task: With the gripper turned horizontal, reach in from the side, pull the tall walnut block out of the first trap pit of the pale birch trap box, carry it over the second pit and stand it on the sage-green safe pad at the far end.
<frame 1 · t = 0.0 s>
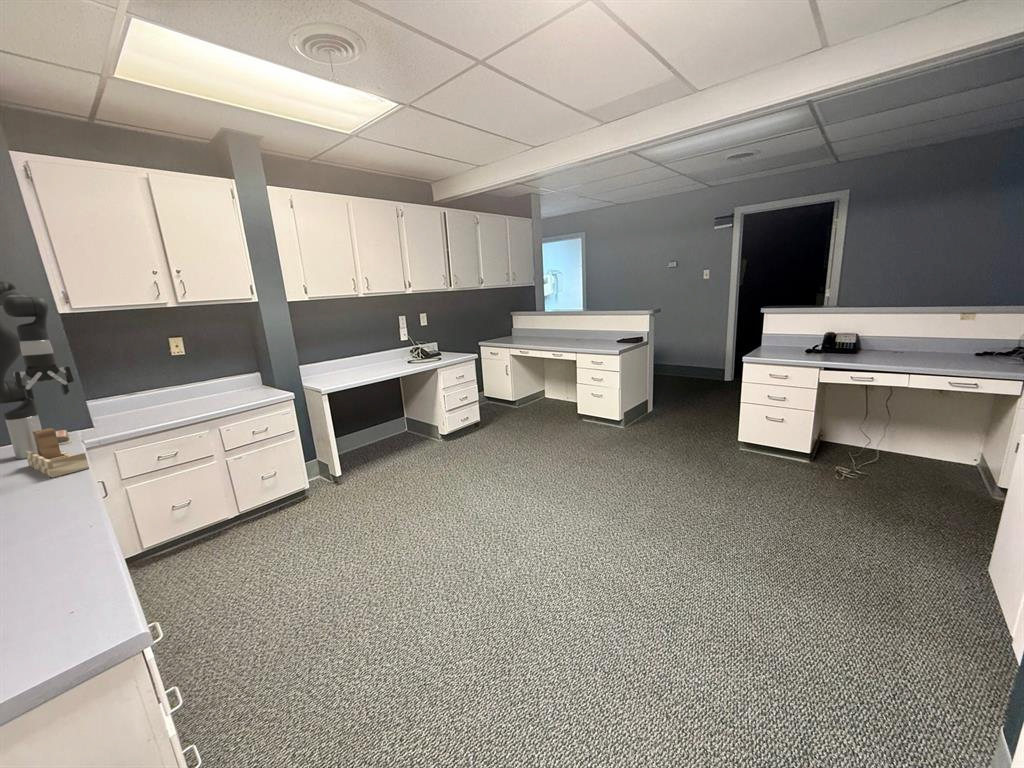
hand: (48, 396, 153), 29 cm above the counter, tool pointing down, fingers open, 8 cm apart
walnut block: (52, 464, 167), resting on trap box
trap box: (58, 467, 163), on the counter
packaged product: (58, 443, 200), on the counter
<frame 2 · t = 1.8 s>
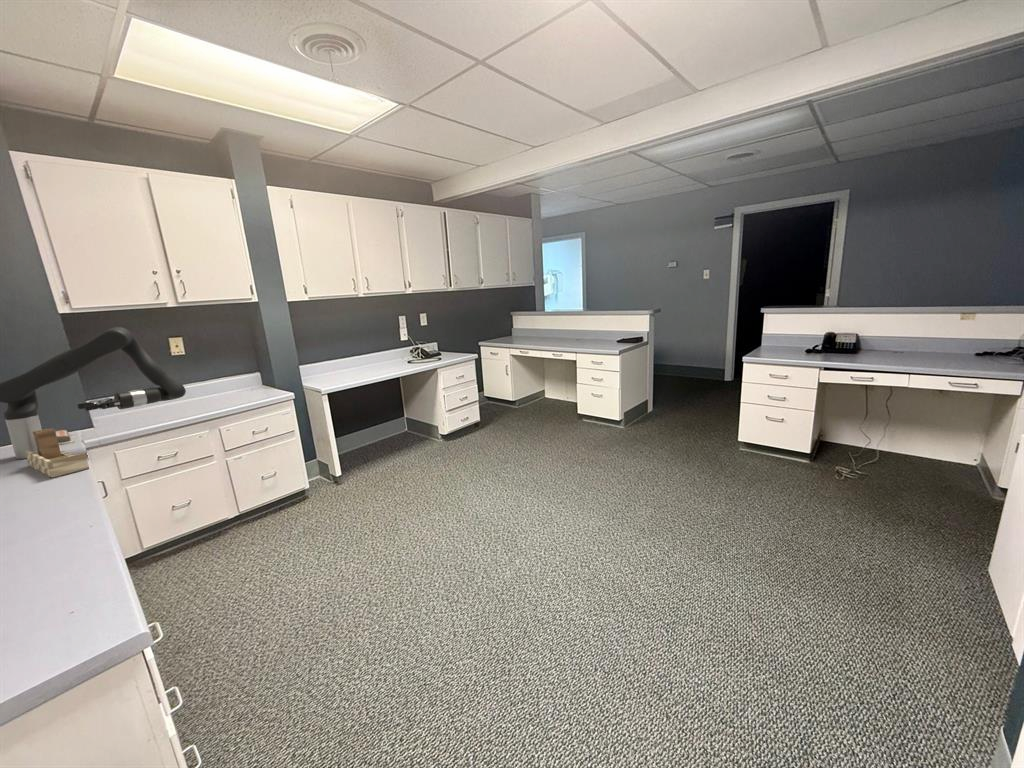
hand: (81, 407, 173), 21 cm above the counter, tool horizontal, fingers open, 8 cm apart
nothing on the counter moved.
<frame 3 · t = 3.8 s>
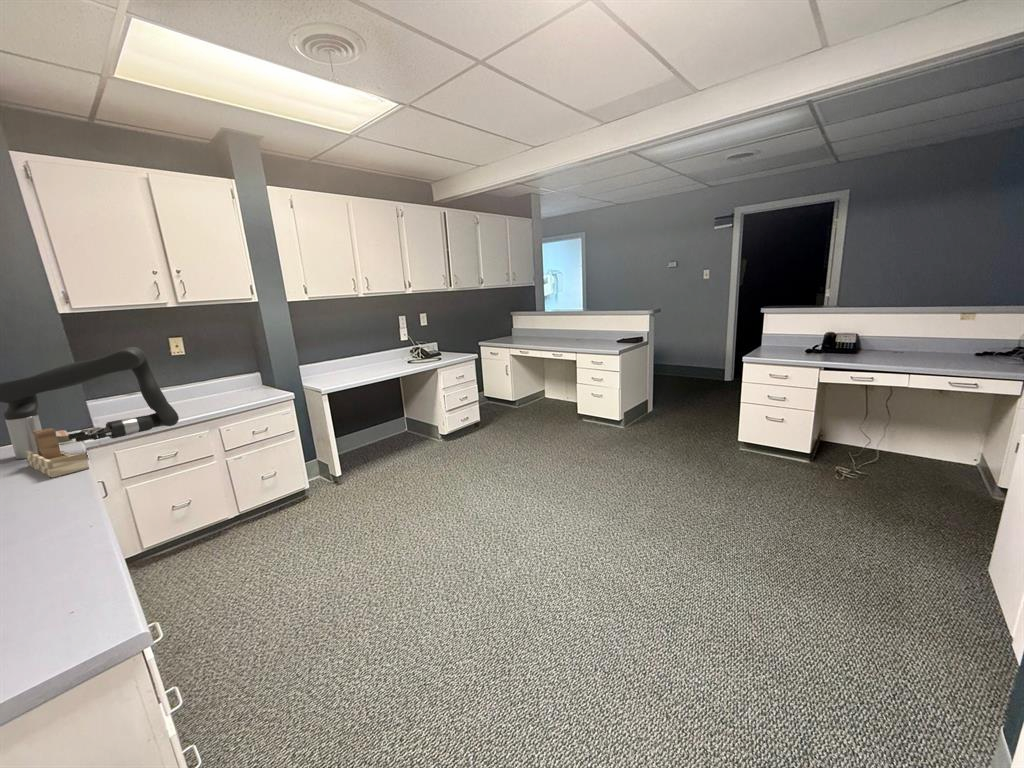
hand: (72, 438, 172), 9 cm above the counter, tool horizontal, fingers open, 8 cm apart
nothing on the counter moved.
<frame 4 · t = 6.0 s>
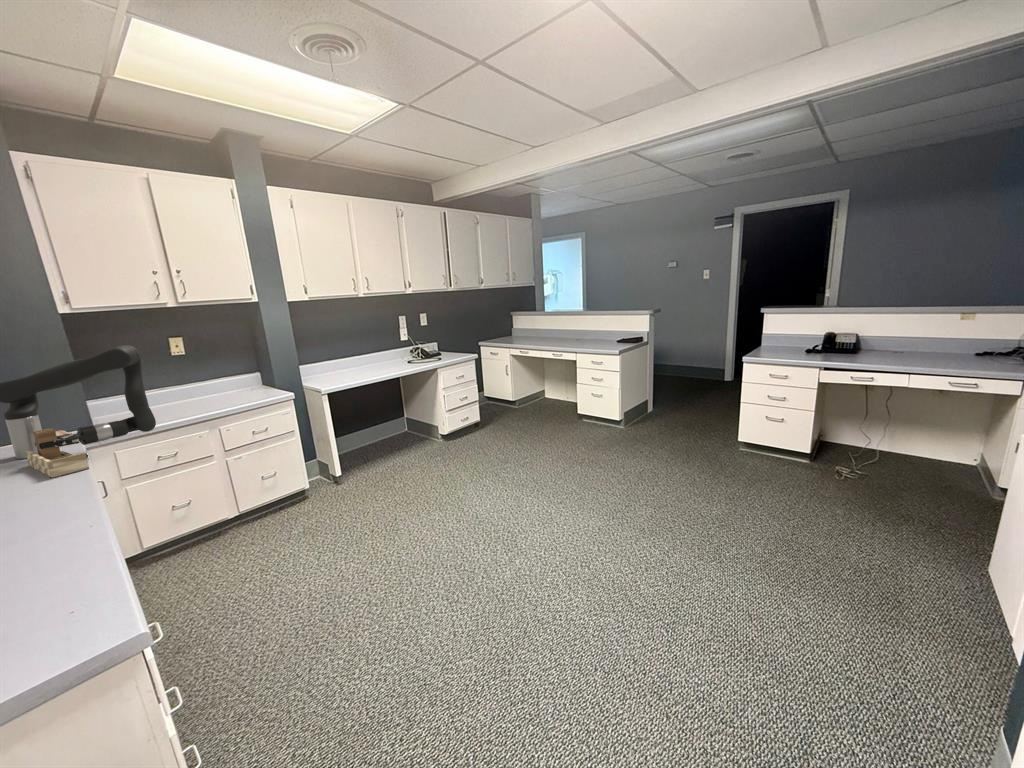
hand: (37, 445, 163), 9 cm above the counter, tool horizontal, fingers closed on walnut block, 5 cm apart
walnut block: (52, 464, 167), resting on trap box, touching gripper
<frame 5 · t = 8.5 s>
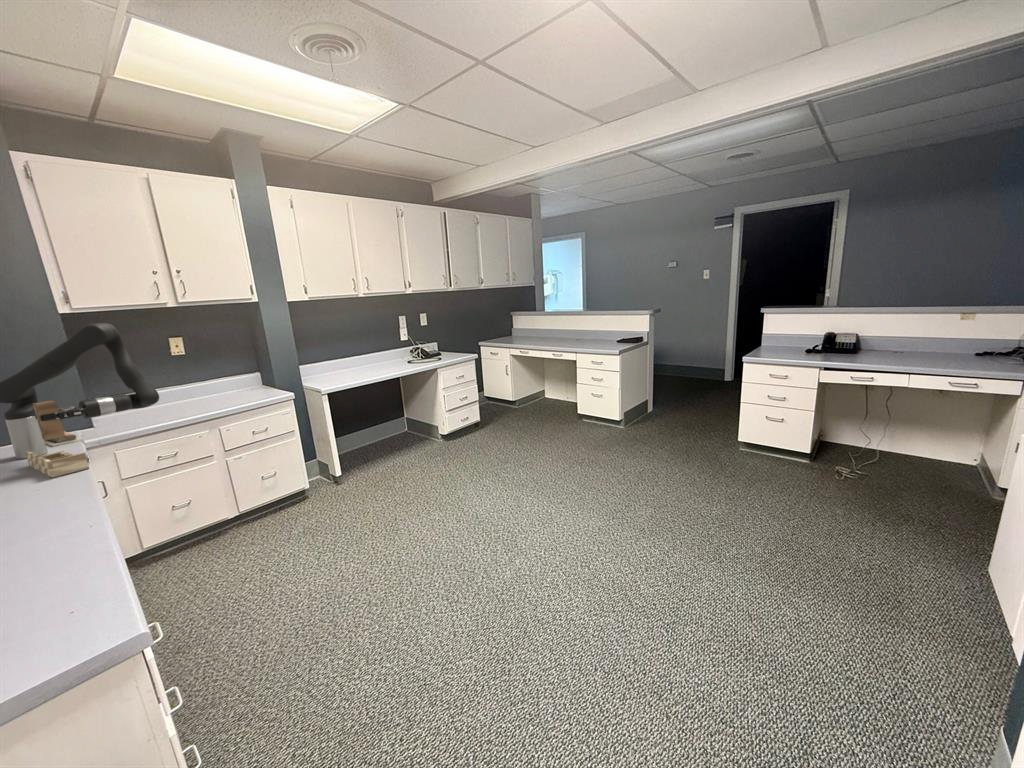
hand: (38, 417, 157), 21 cm above the counter, tool horizontal, fingers closed on walnut block, 5 cm apart
walnut block: (53, 437, 161), point 12 cm above the counter, touching gripper
when the fingers open (13 cm above the counter, at t = 10.9 s): walnut block stays where it is, resting on trap box.
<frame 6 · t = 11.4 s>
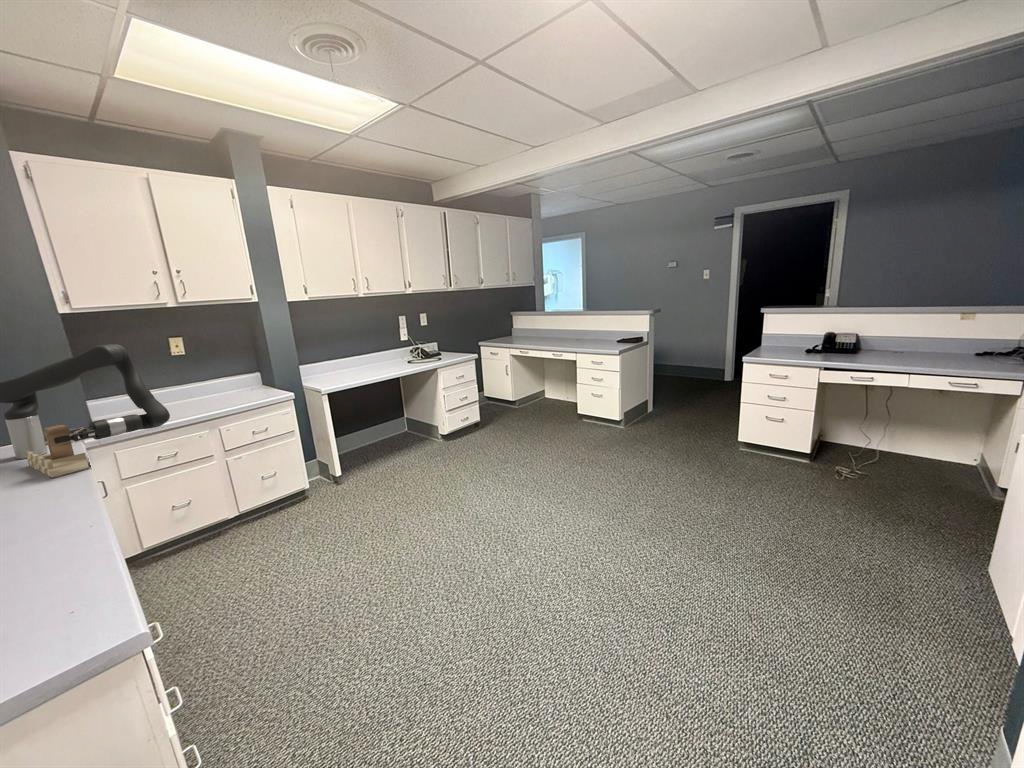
hand: (50, 439, 155), 13 cm above the counter, tool horizontal, fingers open, 8 cm apart
walnut block: (64, 462, 158), point 4 cm above the counter, touching trap box
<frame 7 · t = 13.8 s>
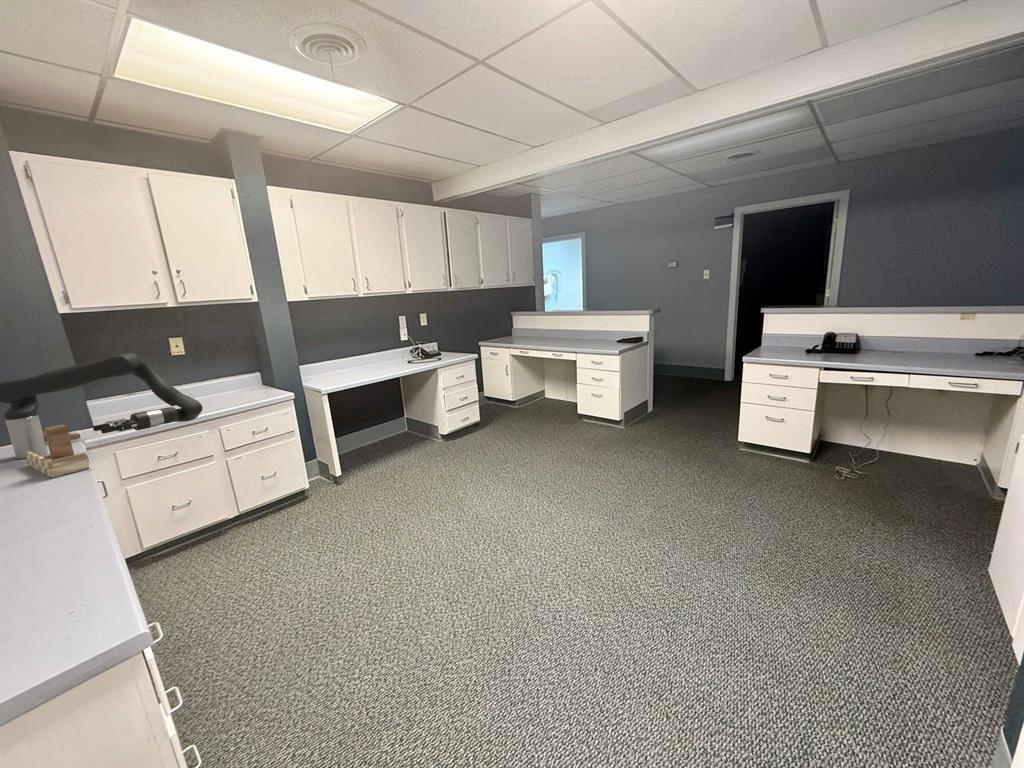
hand: (97, 429, 166), 13 cm above the counter, tool horizontal, fingers open, 8 cm apart
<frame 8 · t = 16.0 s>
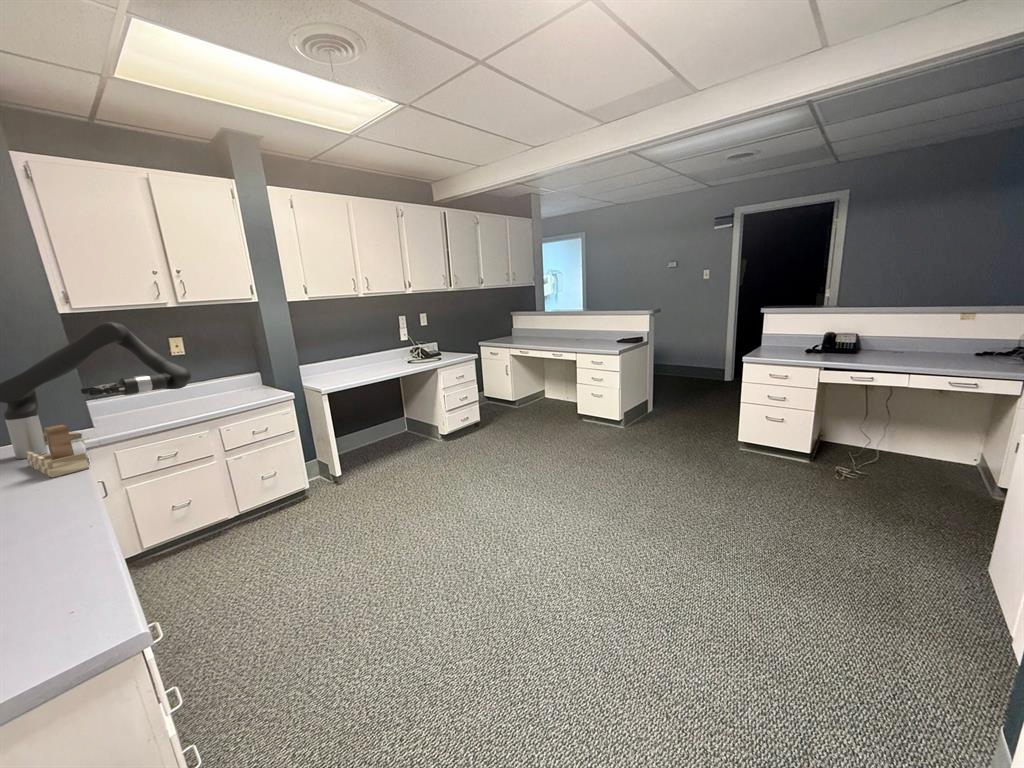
hand: (85, 392, 168), 28 cm above the counter, tool horizontal, fingers open, 8 cm apart
at the end: walnut block 0.1 cm from the target spot, point 3.6 cm above the counter; walnut block tilted 0°; the gripper is holding nothing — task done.
